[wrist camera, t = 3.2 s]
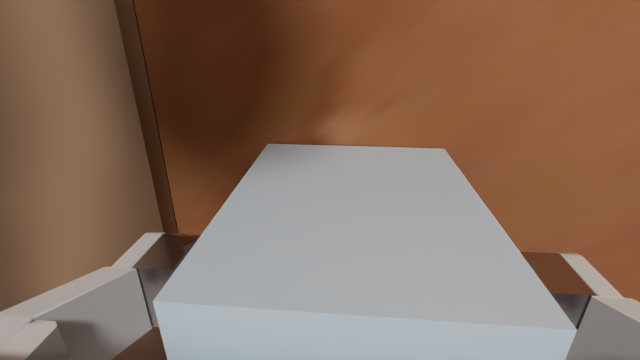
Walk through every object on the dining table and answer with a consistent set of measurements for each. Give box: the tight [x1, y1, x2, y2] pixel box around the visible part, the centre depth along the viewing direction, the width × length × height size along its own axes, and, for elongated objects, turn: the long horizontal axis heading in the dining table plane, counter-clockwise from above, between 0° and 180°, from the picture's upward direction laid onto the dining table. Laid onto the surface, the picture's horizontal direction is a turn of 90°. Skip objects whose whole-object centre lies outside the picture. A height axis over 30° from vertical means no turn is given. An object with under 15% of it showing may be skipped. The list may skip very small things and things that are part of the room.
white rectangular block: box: [153, 144, 577, 360], centre depth 8 cm, size 5×5×7 cm
